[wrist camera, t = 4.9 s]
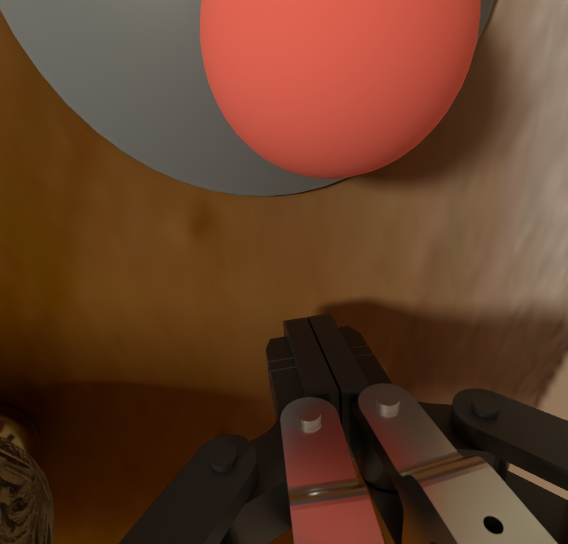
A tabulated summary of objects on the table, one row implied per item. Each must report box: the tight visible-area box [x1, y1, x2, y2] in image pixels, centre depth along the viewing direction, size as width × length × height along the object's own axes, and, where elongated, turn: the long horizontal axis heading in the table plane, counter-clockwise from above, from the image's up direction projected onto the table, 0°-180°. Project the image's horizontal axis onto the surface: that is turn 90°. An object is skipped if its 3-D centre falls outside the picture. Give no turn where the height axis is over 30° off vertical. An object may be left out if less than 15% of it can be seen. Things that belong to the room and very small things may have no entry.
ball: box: [200, 0, 481, 179], centre depth 8 cm, size 6×6×6 cm
